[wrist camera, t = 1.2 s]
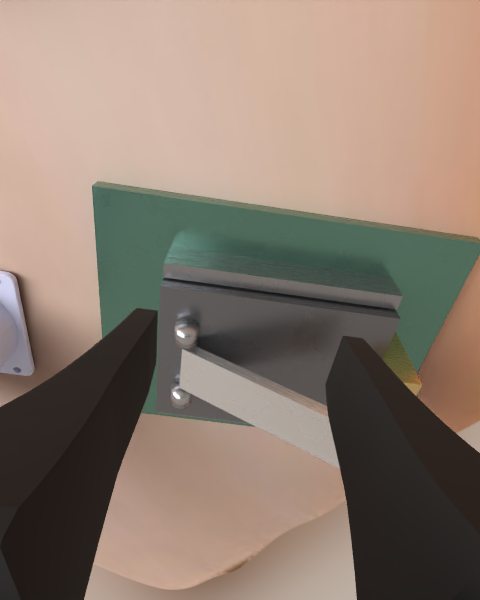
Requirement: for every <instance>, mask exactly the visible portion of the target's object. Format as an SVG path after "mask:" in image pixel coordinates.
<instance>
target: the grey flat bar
mask: <svg viewBox="0 0 480 600" xmlns="http://www.w3.org/2000/svg"><path fill="white" fill-rule="evenodd" d="M179 388H181V389H183V390H185V391H187V392H189V393H191V394H193V395H195V396H197V397H198V398H200V399H202V400H204V401H206V402H208V403H210V404H212V405H214V406H216V407H218V408H220V409H222V410H224V411H226V412H228V413H230V414H232V415H234V416H236V417H238V418H240V419H242V420H244V421H246V422H248V423H250V424H252V425H254V426H256V427H258V428H260V429H262V430H264V431H266V432H268V433H269V434H271V435H273V436H275V437H277V438H279V439H281V440H283V441H285V442H287V443H289V444H291V445H293V446H295V447H297V448H299V449H301V450H303V451H305V452H307V453H309V454H311V455H313V456H315V457H317V458H319V459H321V460H323V461H325V462H327V463H329V464H331V465H333V466H335V467H337V468H339V469H340V466H339V462H338V458H337V453H336V449H335V445H334V440H333V436H332V431H331V427H330V422H329V417H328V411H327V406H325V405H323V404H321V403H319V402H317V401H314V400H312V399H310V398H308V397H306V396H303V395H301V394H299V393H297V392H295V391H293V390H290V389H288V388H286V387H284V386H282V385H280V384H277V383H275V382H273V381H271V380H269V379H266V378H264V377H262V376H260V375H258V374H256V373H253V372H251V371H249V370H247V369H245V368H242V367H240V366H238V365H236V364H234V363H232V362H229V361H227V360H225V359H223V358H221V357H218V356H216V355H214V354H212V353H210V352H208V351H205V350H203V349H201V348H199V347H197V346H195V347H193V348H191V349H182V357H181V371H180V384H179Z"/></svg>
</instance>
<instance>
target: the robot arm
mask: <svg viewBox="0 0 480 600" xmlns="http://www.w3.org/2000/svg"><path fill="white" fill-rule="evenodd" d="M157 323H158V311H157V310H150V309H142V308H136V309H135V310H133V311H132V312H131V313H130V314H129V315H128V316H127V317H126V318H125V319H124V320H123V321H122V322H121V323H120V324H118V325H117V326H116V327H115V328H114V329H113V330H112V331H111V332H110V333H108V334H107V335H106V336H105V337H104V338H103V339H101V340H100V341H99V342H98V343H97V344H95V345H94V346H93V347H92V348H91V349H89V350H88V351H87V352H86V353H84V354H83V355H82V356H80V357H79V358H78V359H76V360H75V361H74V362H72V363H71V364H70V365H68V366H67V367H66V368H64V369H63V370H62V371H60V372H59V373H57V374H56V375H54V376H53V377H51V378H50V379H48V380H47V381H45V382H44V383H42V384H40V385H39V386H37V387H36V388H34V389H32V390H31V391H29V392H27V393H25V394H24V395H22V396H20V397H18V398H16V399H14V400H13V401H11V402H9V403H7V404H5V405H3V406H2V407H0V600H84V597H85V592H86V588H87V585H88V581H89V577H90V573H91V570H92V566H93V562H94V558H95V554H96V550H97V547H98V543H99V539H100V535H101V532H102V528H103V524H104V521H105V517H106V513H107V510H108V506H109V503H110V499H111V496H112V492H113V489H114V485H115V481H116V478H117V474H118V472H119V469H120V466H121V463H122V460H123V457H124V455H125V452H126V450H127V447H128V444H129V442H130V439H131V437H132V434H133V432H134V429H135V427H136V424H137V422H138V419H139V416H140V414H141V411H142V409H143V406H144V404H145V401H146V398H147V396H148V393H149V390H150V386H151V382H152V378H153V374H154V370H155V366H156V358H157ZM19 368H20V369H19ZM34 370H35V368H34V363H33V358H32V353H31V348H30V343H29V338H28V333H27V328H26V323H25V318H24V313H23V308H22V303H21V298H20V293H19V288H18V283H17V279H16V277H15V276H14V275H13V274H11V273H9V272H5V271H0V373H7V374H15V375H23V376H30V375H32V373H33V372H34ZM325 387H326V401H327V411H328V417H329V422H330V427H331V431H332V436H333V440H334V445H335V449H336V453H337V458H338V462H339V466H340V471H341V475H342V480H343V484H344V489H345V495H346V500H347V507H348V515H349V524H350V531H351V540H352V549H353V559H354V570H355V581H356V593H357V600H480V453H479V452H477V451H476V450H475V449H474V448H473V447H471V446H470V445H469V444H468V443H467V442H465V441H464V440H463V439H462V438H461V437H459V436H458V435H457V434H456V433H455V432H454V431H452V430H451V429H450V428H449V427H448V426H447V425H446V424H444V423H443V422H442V421H441V420H440V419H439V418H438V417H437V416H436V415H435V414H434V413H433V412H432V411H431V410H430V409H429V408H428V407H426V406H425V405H424V404H423V403H422V402H421V401H420V400H419V399H418V398H417V397H416V396H415V395H414V394H413V393H412V391H411V390H410V389H409V388H408V387H407V386H406V385H405V384H404V383H403V382H402V381H401V380H400V379H399V378H398V377H397V375H396V374H395V373H394V372H393V371H392V370H391V369H390V368H389V367H388V365H387V364H386V363H385V362H384V361H383V360H382V359H381V358H380V356H379V355H378V354H377V353H376V352H375V351H374V350H373V349H372V347H371V346H370V345H369V344H368V343H367V342H366V341H365V340H364V339H363V338H358V337H350V336H342V339H341V342H340V345H339V348H338V350H337V353H336V356H335V359H334V361H333V364H332V367H331V370H330V373H329V375H328V378H327V381H326V384H325Z"/></svg>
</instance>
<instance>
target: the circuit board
mask: <svg viewBox="0 0 480 600" xmlns="http://www.w3.org/2000/svg"><path fill="white" fill-rule="evenodd" d="M92 192H93V207H94V222H95V236H96V251H97V266H98V280H99V295H100V309H101V324H102V339H103V338H104V337H105V336H106V335H107V334H108V333H110V332H111V331H112V330H113V329H114V328H115V327H116V326H117V325H118V324H120V323H121V322H122V321H123V320H124V319H125V318H126V317H127V316H128V315H129V314H130V313H131V312H132V311H133V310H135V309H136V308H142V309H150V310H157V311H158V323H157V358H156V366H155V370H154V374H153V378H152V382H151V386H150V390H149V393H148V396H147V398H146V401H145V404H144V406H143V409H142V411H141V413H148V414H156V415H164V416H172V417H180V418H189V419H197V420H205V421H213V422H221V423H229V424H237V425H246V426H254V425H252V424H250V423H248V422H246V421H244V420H242V419H240V418H238V417H236V416H234V415H232V414H230V413H228V412H226V411H224V410H222V409H220V408H218V407H216V406H214V405H212V404H210V403H208V402H206V401H204V400H202V399H200V398H198V397H197V396H195V395H193V394H191V393H189V392H187V391H185V390H183V389H181V388H179V384H180V371H181V357H182V349H191V348H193V347H195V346H197V347H199V348H201V349H203V350H205V351H208V352H210V353H212V354H214V355H216V356H218V357H221V358H223V359H225V360H227V361H229V362H232V363H234V364H236V365H238V366H240V367H242V368H245V369H247V370H249V371H251V372H253V373H256V374H258V375H260V376H262V377H264V378H266V379H269V380H271V381H273V382H275V383H277V384H280V385H282V386H284V387H286V388H288V389H290V390H293V391H295V392H297V393H299V394H301V395H303V396H306V397H308V398H310V399H312V400H314V401H317V402H319V403H321V404H323V405H325V406H327V401H326V387H325V384H326V381H327V378H328V375H329V373H330V370H331V367H332V364H333V361H334V359H335V356H336V353H337V350H338V348H339V345H340V342H341V339H342V336H350V337H358V338H363V339H364V340H365V341H366V342H367V343H368V344H369V345H370V346H371V347H372V349H373V350H374V351H375V352H376V353H377V354H378V355H379V356H380V358H381V359H382V360H383V361H384V362H385V363H386V364H387V365H388V367H389V368H390V369H391V370H392V371H393V372H394V373H395V374H396V375H397V377H398V378H399V379H400V380H401V381H402V382H403V383H404V384H405V385H406V386H407V387H408V388H409V389H410V390H411V391H412V393H413V394H414V395H415V396H417V394H418V392H419V390H420V389H421V387H422V383H421V381H420V379H419V377H418V375H417V372H418V370H419V368H420V366H421V364H422V363H423V361H424V359H425V357H426V355H427V353H428V351H429V349H430V347H431V345H432V343H433V342H434V340H435V338H436V336H437V334H438V332H439V330H440V328H441V326H442V324H443V323H444V321H445V319H446V317H447V315H448V313H449V311H450V309H451V307H452V305H453V304H454V302H455V300H456V298H457V296H458V294H459V292H460V290H461V288H462V286H463V285H464V283H465V281H466V279H467V277H468V275H469V273H470V271H471V269H472V267H473V265H474V264H475V262H476V260H477V258H478V256H479V254H480V240H479V239H478V238H476V237H469V236H463V235H456V234H449V233H442V232H436V231H429V230H422V229H415V228H409V227H402V226H395V225H388V224H382V223H375V222H368V221H361V220H355V219H348V218H341V217H334V216H328V215H321V214H314V213H307V212H301V211H294V210H287V209H280V208H274V207H267V206H260V205H254V204H247V203H240V202H233V201H227V200H220V199H213V198H206V197H200V196H193V195H186V194H179V193H173V192H166V191H159V190H152V189H146V188H139V187H132V186H125V185H119V184H112V183H105V182H96V183H95V184H94V185H93V186H92ZM254 427H256V426H254Z"/></svg>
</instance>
